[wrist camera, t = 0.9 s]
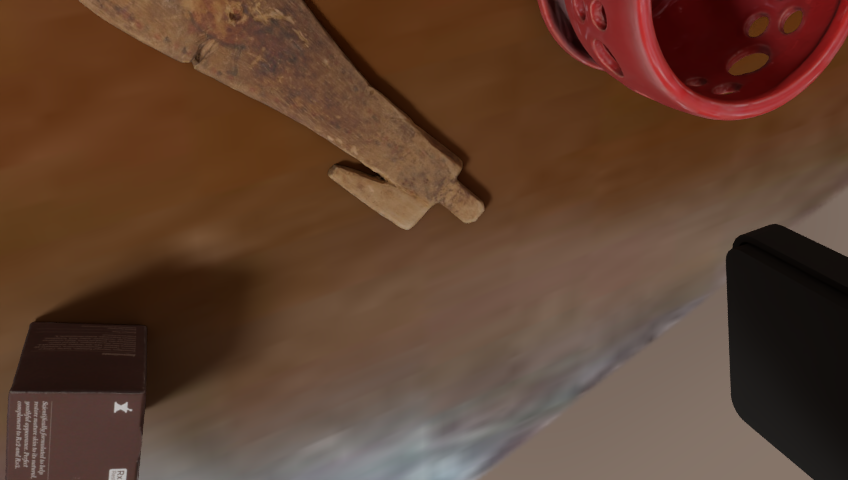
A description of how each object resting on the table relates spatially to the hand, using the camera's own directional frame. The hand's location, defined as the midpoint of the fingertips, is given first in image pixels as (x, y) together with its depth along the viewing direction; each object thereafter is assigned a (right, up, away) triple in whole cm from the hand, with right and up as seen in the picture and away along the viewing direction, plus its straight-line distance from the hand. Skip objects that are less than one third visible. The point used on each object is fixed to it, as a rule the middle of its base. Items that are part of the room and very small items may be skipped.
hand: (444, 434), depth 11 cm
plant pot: (+11, +18, +34) cm, 41 cm away
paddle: (-8, +12, +31) cm, 34 cm away
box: (-19, -5, +33) cm, 39 cm away
